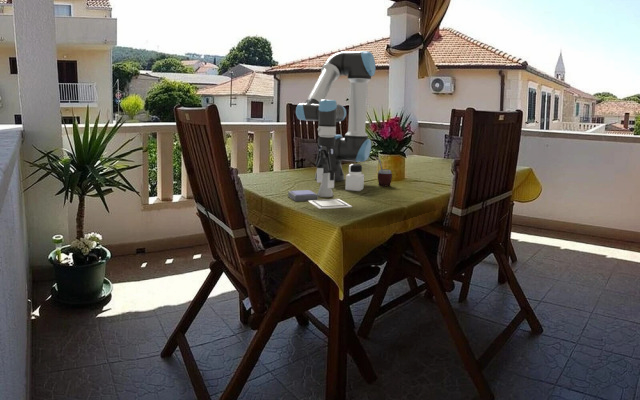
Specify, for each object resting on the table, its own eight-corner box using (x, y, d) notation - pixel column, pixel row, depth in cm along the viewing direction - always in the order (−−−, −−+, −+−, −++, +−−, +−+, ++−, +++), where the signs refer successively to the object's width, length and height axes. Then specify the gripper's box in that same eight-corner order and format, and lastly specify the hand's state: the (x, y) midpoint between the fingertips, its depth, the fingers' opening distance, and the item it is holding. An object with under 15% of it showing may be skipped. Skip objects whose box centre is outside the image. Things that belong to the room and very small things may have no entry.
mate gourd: (393, 185, 245) (394, 155, 242) (388, 188, 238) (390, 157, 235) (378, 183, 248) (380, 154, 245) (373, 186, 242) (375, 156, 238)
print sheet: (339, 199, 209) (339, 198, 209) (352, 207, 196) (352, 205, 196) (307, 201, 204) (308, 200, 204) (319, 209, 192) (319, 207, 191)
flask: (322, 193, 221) (323, 171, 219) (336, 195, 217) (337, 173, 215) (313, 196, 215) (314, 173, 213) (327, 198, 211) (328, 175, 209)
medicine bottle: (363, 188, 235) (364, 163, 232) (359, 191, 228) (360, 165, 226) (349, 187, 237) (350, 162, 235) (345, 190, 231) (346, 164, 228)
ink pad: (310, 195, 217) (310, 189, 217) (317, 199, 208) (317, 194, 207) (288, 196, 214) (288, 190, 213) (295, 201, 205) (295, 195, 204)
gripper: (309, 134, 221) (307, 180, 225) (328, 138, 198) (327, 190, 202) (324, 134, 223) (323, 180, 228) (346, 138, 201) (343, 189, 205)
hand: (325, 185), depth 215 cm, fingers open, 13 cm apart
